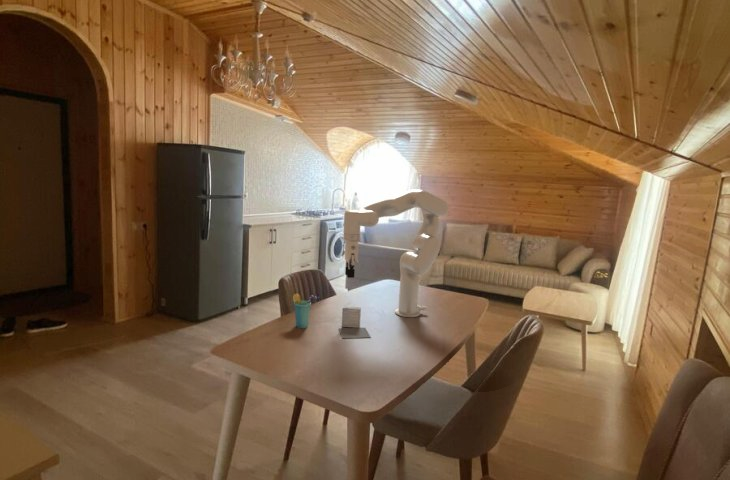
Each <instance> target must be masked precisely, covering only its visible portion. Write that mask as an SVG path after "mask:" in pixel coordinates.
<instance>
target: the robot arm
mask: <svg viewBox="0 0 730 480" xmlns="http://www.w3.org/2000/svg"><path fill="white" fill-rule="evenodd" d="M449 207H450V206H449V204H448V202H447V201H446V200H445V199H443V198H441V197H439V196H436V195H435V194H433V193H430V192H429V191H426V190H424V189H410V190H407V191H405V192H404V193H401V194H398V195H395V196H393V197H391V198H389V199H383V201H382V200H381V201H378V202H375V203H372V204H369V205H366V206H365V207H363V208H361V209H358V210H356V209H355V210H354V209H353V210H352V209H347V210H345V211H344V216H343V236H342V237H343V238H342V239H343V241H344V259H345V272H344V273H345V275H346V277H347V278H350V279H351V278H355V270H356V269H355V268H356V267H355V265H356V264H357V263H359V242H360V238H361V237H360V236H361V227H366V228H373V227H375V226H376V225H378V223H379V219H380V218H384V217H385V218H386V217H395V216H399V215H401V214H402V213H405V212H407V211H409V210H412V209H414V208H418V209H420V210H421V214H422V218H423V220H422V223H421V226H420V227H419V229H418V231H417V233H416V235H415V236H414V238H413V240H412V243H411V246H412V249H414V250H415V251H417V252H418V253H417V252H413V251H406V252H404V253H402V255H401V256H400V259H399V269H400V271H399V272H400V278H399V295H398V297H399V298H398V307H397V308H396V309H395V310H394V312H395V314H396V315H398V316H400V317H404V318H417V317H419V316H420V315H421V311H427V306H423V305H419V303H418V302H419V291H420V289H419V288H420V276H423V275H425V274H426V273H428V272H429V270H430V269H431V267H432V265H433V264H434V261H436V258H437V256H438V255H439V253H440V250H441V241H440V239H439V238H438V237H436V235H437V232H438V231H439V228H440V219H439V218H441V217H444V216H446V215H447V214H448V212H449ZM355 263H356V264H355Z"/></svg>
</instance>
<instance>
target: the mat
mask: <svg viewBox="0 0 730 480" xmlns="http://www.w3.org/2000/svg"><path fill="white" fill-rule="evenodd" d="M338 330H339V334H340V336H341V339H343V340H347V339H348V340H349V339H371V338H372V337H371V335H370V333H369V332H368V330H367V328H366V327H359V328H353V327H343V328H342V327H341V328H340V327H339V328H338Z"/></svg>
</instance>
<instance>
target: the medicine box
mask: <svg viewBox="0 0 730 480" xmlns="http://www.w3.org/2000/svg"><path fill="white" fill-rule="evenodd" d="M361 309H362V307H361V306H355V305H354V306H351V305H344V306H343V307H342V313H341V316H342V317H341V328H342V327H343V328H361V315H362V313H361V312H362V310H361Z"/></svg>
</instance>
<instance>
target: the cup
mask: <svg viewBox="0 0 730 480" xmlns="http://www.w3.org/2000/svg"><path fill="white" fill-rule="evenodd" d="M312 298H314V299H316V300H319V296H317V295H313V294H311V295H310V296H309V298H308V300H302V299H301V295H300V294H299V293H294V294H293V296H292V301H293V306H294V313H295V314H294V315H295V327H297V329H305V328H308V326H309V320H310V319H309V318H310V311H311V306H312V302H311V300H312Z"/></svg>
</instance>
